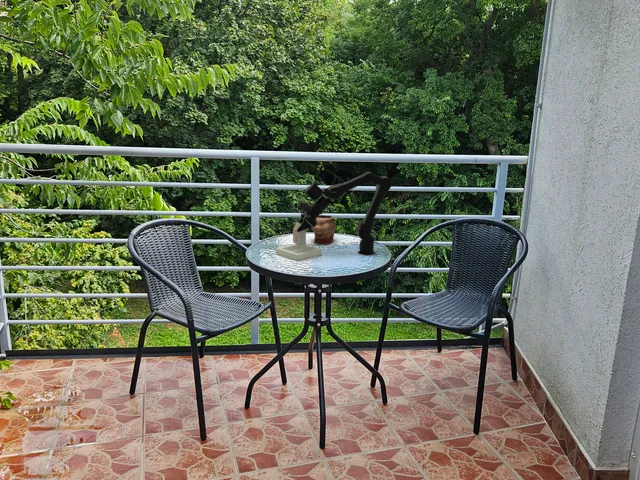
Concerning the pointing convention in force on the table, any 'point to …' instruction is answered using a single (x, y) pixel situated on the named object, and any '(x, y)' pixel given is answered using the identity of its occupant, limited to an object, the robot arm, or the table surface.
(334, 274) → the table surface
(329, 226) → the decorative planter
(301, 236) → the tea bag
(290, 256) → the housing tray
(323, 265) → the table surface
